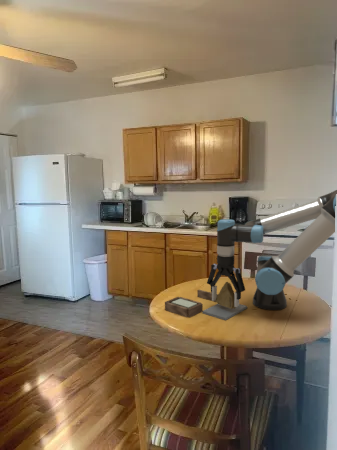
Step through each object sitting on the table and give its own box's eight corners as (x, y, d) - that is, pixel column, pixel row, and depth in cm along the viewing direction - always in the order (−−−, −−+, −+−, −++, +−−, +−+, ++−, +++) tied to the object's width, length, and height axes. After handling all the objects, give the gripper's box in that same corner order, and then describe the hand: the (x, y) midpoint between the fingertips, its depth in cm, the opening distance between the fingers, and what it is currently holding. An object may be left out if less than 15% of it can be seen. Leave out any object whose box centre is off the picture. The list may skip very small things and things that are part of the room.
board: (247, 308, 154) (247, 306, 154) (225, 320, 141) (225, 318, 140) (224, 302, 162) (224, 300, 162) (202, 313, 149) (202, 311, 148)
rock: (242, 304, 145) (238, 293, 155) (231, 290, 143) (227, 280, 153) (222, 318, 147) (219, 306, 157) (210, 304, 145) (208, 293, 155)
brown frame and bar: (221, 302, 162) (221, 295, 161) (188, 318, 144) (188, 310, 143) (197, 295, 171) (197, 289, 171) (164, 309, 153) (163, 302, 153)
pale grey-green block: (197, 312, 150) (197, 303, 150) (189, 316, 146) (189, 307, 145) (180, 306, 157) (180, 298, 157) (171, 310, 153) (171, 302, 153)
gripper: (254, 257, 143) (253, 306, 146) (208, 250, 158) (208, 295, 161) (245, 260, 137) (244, 311, 140) (199, 252, 153) (199, 299, 156)
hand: (225, 302), depth 151 cm, fingers closed on rock, 11 cm apart
